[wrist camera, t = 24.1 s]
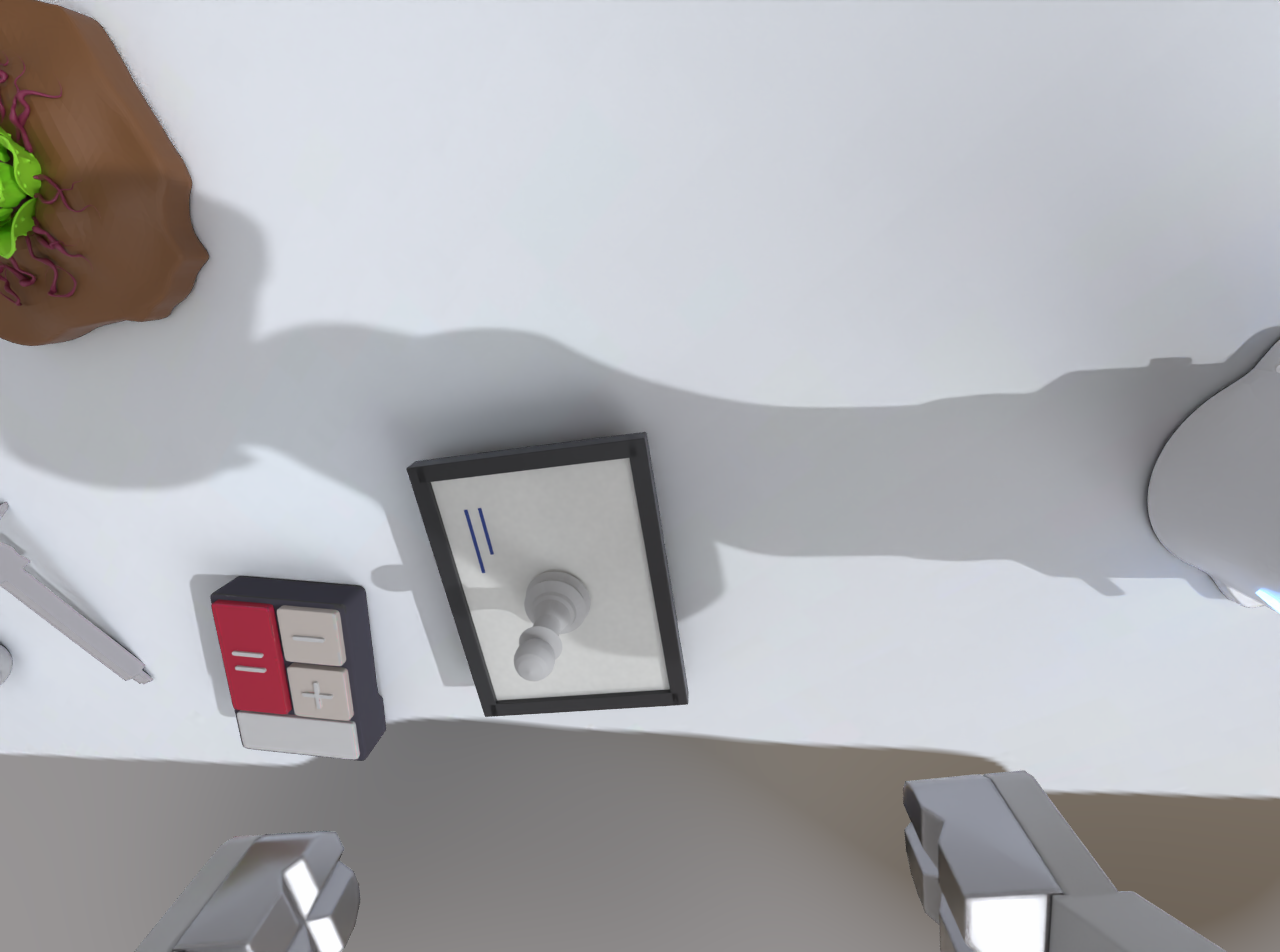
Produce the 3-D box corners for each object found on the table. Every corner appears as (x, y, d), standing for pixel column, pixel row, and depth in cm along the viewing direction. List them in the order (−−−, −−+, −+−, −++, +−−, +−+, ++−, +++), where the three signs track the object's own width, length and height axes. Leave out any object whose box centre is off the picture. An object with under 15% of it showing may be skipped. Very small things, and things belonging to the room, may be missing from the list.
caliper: (-18, 487, 47) (-119, 521, 41) (-9, 482, 47) (-110, 516, 41) (148, 680, 53) (80, 734, 47) (156, 677, 53) (89, 731, 47)
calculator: (339, 610, 44) (361, 769, 48) (369, 581, 48) (387, 731, 52) (200, 597, 44) (235, 756, 49) (241, 571, 48) (270, 719, 53)
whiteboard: (648, 423, 40) (644, 438, 37) (689, 674, 47) (688, 704, 44) (427, 451, 42) (406, 468, 39) (498, 687, 50) (484, 717, 47)
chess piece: (574, 635, 43) (549, 715, 36) (516, 607, 43) (479, 683, 36) (602, 587, 42) (581, 661, 34) (542, 558, 41) (508, 626, 34)
